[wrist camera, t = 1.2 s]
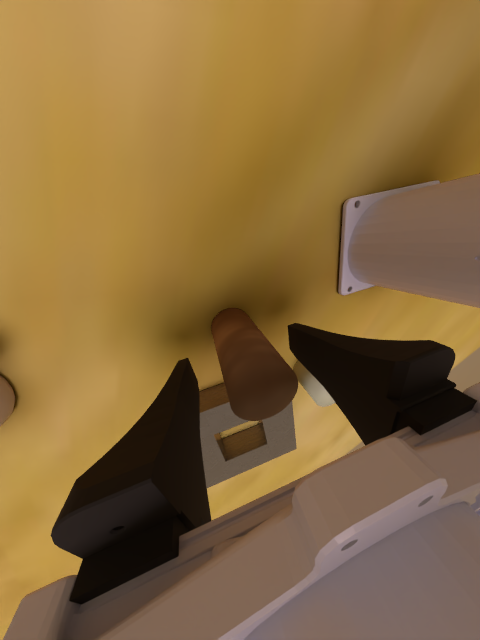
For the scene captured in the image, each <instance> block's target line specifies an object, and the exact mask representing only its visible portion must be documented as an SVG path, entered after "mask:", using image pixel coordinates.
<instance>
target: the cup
mask: <svg viewBox="0 0 480 640" xmlns="http://www.w3.org/2000/svg"><path fill="white" fill-rule="evenodd" d="M14 403H15V395H14V392H13V388H12V387H11V386H10V384H9V383H8V382H7V380H6V379H5V378H3V377H2V376H1V375H0V426H1V425H2V424H3V423H4V422H5V421H6V420H7V419H8V417H9V416H10V414H11V413H12V412H13V409H14Z"/></svg>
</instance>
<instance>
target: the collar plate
mask: <svg viewBox="0 0 480 640" xmlns="http://www.w3.org/2000/svg"><path fill="white" fill-rule="evenodd" d="M199 396H200V438H201V447H202V456H203V465H204V473H205V480H206V487H207V488H209V487H211V486H213V485H215V484H218V483H220V482H222V481H224V480H227V479H229V478H231V477H234V476H236V475H238V474H240V473H243V472H245V471H247V470H249V469H252V468H254V467H256V466H258V465H261V464H263V463H265V462H267V461H270V460H272V459H274V458H277V457H279V456H281V455H283V454H286V453H288V452H290V451H292V450H295V449H296V439H295V428H294V417H293V407H292V401H291V402H290V404H289V405H288V406H287V407H286V408H285V409H283V410H282V411H281V412H279V413H278V414H276V415H274V416H272V417H270V418H267V419H263V420H259V423H260V424H258V425H256V426H253V427H251V428H248V429H246V430H243V431H241V432H238V433H236V434H233V435H231V436H228V437H226V438H223V439H222V438H221V436H220V432H222V431H225V430H227V429H230V428H232V427H235V426H237V425H240V424H243V423H245V422H248V420H244V419H241V418H239V417H238V416H236V415H235V414H234V413H233V411H232V409H231V407H230V403H229V399H228V395H227V391H226V387H225V383H222V384H219V385H216V386H214V387H211V388H208V389H205V390H202V391H199Z"/></svg>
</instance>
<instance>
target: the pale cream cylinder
mask: <svg viewBox="0 0 480 640" xmlns="http://www.w3.org/2000/svg"><path fill="white" fill-rule="evenodd" d="M293 371H294V372H295V374H296V376H297V379H298V381H299V382H300V384H301V385H302V386H303V387H304V389H305V390H306V391H307V392H308V394H309V395H310V396H311V397H312V399H313V400H314V401H315V402H316V404H317V405H319V406H322V407H325V406H329V405H332V404H334V403H336V402H335V401H334V400H333V399H332V397H331V396H330V395H329V393H328V392H327V391H326V390H325V388H324V387H323V386H322V385H321V384H320V383H319V381H318V380H317V379H316V378H315V377H314V376H313V375H312V374H311V373H310V372H309V371H308V370H307V369H306V368H305V367H304V366H303V365H302V364H301V363H300V362H299V361H297V362H296V364H295V365H294V368H293Z"/></svg>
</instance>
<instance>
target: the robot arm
mask: <svg viewBox="0 0 480 640" xmlns="http://www.w3.org/2000/svg"><path fill="white" fill-rule="evenodd" d="M355 202H356V206H355ZM373 286H380V287H385V288H389V289H394V290H399V291H403V292H408V293H413V294H417V295H422V296H426V297H431V298H436V299H440V300H445V301H450V302H454V303H459V304H464V305H468V306H473V307H477V308H480V173H479V174H475V175H471V176H467V177H463V178H459V179H455V180H451V181H447V182H443V183H440V181H439V180H436V181H431V182H426V183H421V184H417V185H412V186H407V187H402V188H397V189H393V190H388V191H383V192H378V193H374V194H369V195H364V196H359V197H354V198H350V199H348V200H346V201H345V203H344V205H343V218H342V236H341V253H340V271H339V289H338V292H339V294H341V295H347V294H350V293H354V292H357V291H360V290H363V289H367V288H370V287H373ZM348 288H349V289H348ZM288 334H289V346H290V350H291V351H292V353H293V354H294V356H295V357H296V358H297V360H298V361H299V362H300V363H301V364H302V365H303V366H304V367H305V368H306V369H307V370H308V371H309V372H310V373H311V374H312V375H313V376H314V377H315V378H316V379H317V380H318V381H319V383H320V384H321V385H322V386H323V387H324V388H325V390H326V391H327V392H328V393H329V395H330V396H331V397H332V399H333V400H334V401H335V402H336V404H337V405H338V407H339V408H340V409H341V411H342V412H343V413H344V415H345V416H346V418H347V419H348V420H349V422H350V423H351V425H352V426H353V428H354V429H355V430H356V432H357V433H358V435H359V437H360V438H361V440H362V441H363V442H364V444H365V446H364V447H362V448H360V449H358V450H356V451H353V452H351V453H349V454H347V455H345V456H343V457H341V458H339V459H337V460H335V461H333V462H330V463H328V464H326V465H324V466H322V467H320V468H318V469H316V470H315V471H313V472H312V473H310V474H308V475H306V476H304V477H302V478H300V479H298V480H295V481H293V482H291V483H289V484H287V485H285V486H283V487H281V488H279V489H277V490H275V491H273V492H270V493H268V494H266V495H264V496H262V497H260V498H258V499H256V500H254V501H252V502H250V503H248V504H246V505H243V506H241V507H239V508H237V509H235V510H233V511H231V512H229V513H227V514H225V515H223V516H221V517H219V518H216V519H214V520H212V521H211V515H210V508H209V502H208V495H207V487H206V480H205V473H204V465H203V456H202V447H201V438H200V396H199V387H198V381H197V378H196V376H195V373H194V371H193V369H192V366H191V364H190V361H189V359H188V358H186V359H183V360H179V361H178V363H177V364H176V366H175V368H174V370H173V372H172V373H171V375H170V377H169V379H168V380H167V382H166V384H165V385H164V387H163V389H162V390H161V392H160V393H159V395H158V396H157V398H156V399H155V400H154V402H153V403H152V404H151V406H150V407H149V408H148V409H147V411H146V412H145V413H144V414H143V416H142V417H141V418H140V419H139V420H138V421H137V422H136V424H135V425H134V426H133V427H132V428H131V429H130V430H129V431H128V432H127V433H126V434H125V435H124V436H123V437H122V439H121V440H120V441H119V442H118V443H116V444H115V445H114V446H113V447H112V448H111V449H110V450H109V451H108V452H107V453H106V454H105V455H104V456H103V457H102V458H101V459H99V460H98V461H97V462H96V463H95V464H94V465H93V466H92V467H90V468H89V469H88V470H87V471H86V472H85V473H84V474H82V475H81V476H80V477H79V478H78V479H77V480H76V481H75V483H74V485H73V487H72V489H71V491H70V494H69V496H68V498H67V500H66V502H65V504H64V506H63V508H62V510H61V512H60V514H59V516H58V518H57V520H56V522H55V525H54V527H53V529H52V533H51V537H52V540H53V542H54V544H55V545H57V546H58V547H59V548H61V549H63V550H65V551H68V552H70V553H72V554H74V555H76V556H78V557H80V558H82V559H83V561H82V563H81V566H80V569H79V572H78V575H71V576H67V577H64V578H61V579H59V580H57V581H55V582H53V583H51V584H49V585H46V586H44V587H42V588H40V589H38V590H36V591H34V592H32V593H29V594H27V595H26V596H25V597H24V598H23V599H22V600H21V603H20V605H19V607H18V609H17V611H16V613H15V615H14V617H13V619H12V622H11V624H10V626H9V628H8V630H7V632H6V634H5V636H4V638H3V640H480V382H479V383H477V384H475V385H473V386H471V387H469V388H467V389H466V390H465V391H464V392H463V393H462V392H460V391H459V390H457V389H455V388H454V387H456V384H455V383H454V382H451V381H450V380H448V379H447V377H448V375H449V373H450V370H451V368H452V366H453V364H454V361H455V353H454V351H453V349H451V348H450V347H447V346H445V345H442V344H440V343H437V342H434V341H431V340H418V341H397V340H377V339H366V338H358V337H352V336H346V335H341V334H336V333H332V332H328V331H324V330H320V329H316V328H313V327H309V326H306V325H302V324H298V323H294V324H291V325H288Z"/></svg>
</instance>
